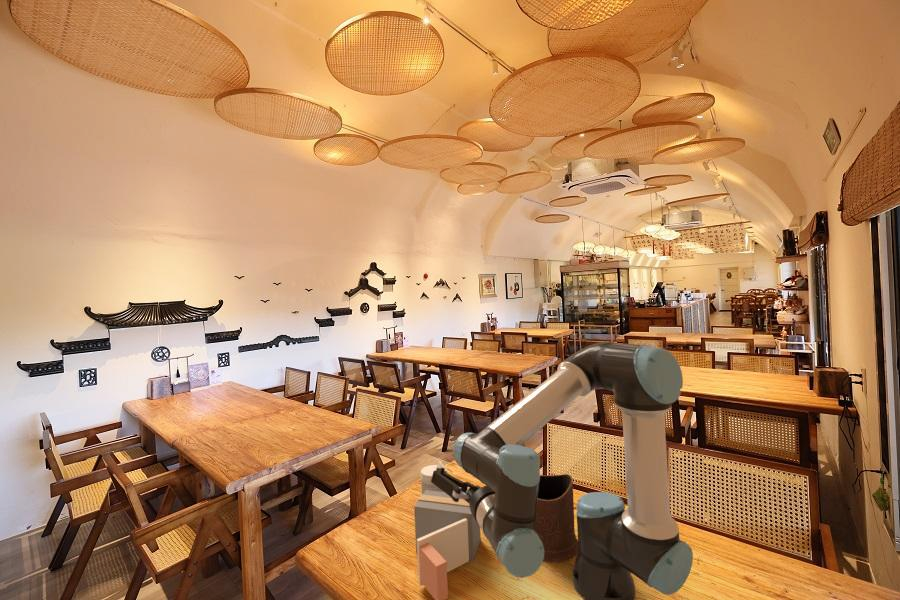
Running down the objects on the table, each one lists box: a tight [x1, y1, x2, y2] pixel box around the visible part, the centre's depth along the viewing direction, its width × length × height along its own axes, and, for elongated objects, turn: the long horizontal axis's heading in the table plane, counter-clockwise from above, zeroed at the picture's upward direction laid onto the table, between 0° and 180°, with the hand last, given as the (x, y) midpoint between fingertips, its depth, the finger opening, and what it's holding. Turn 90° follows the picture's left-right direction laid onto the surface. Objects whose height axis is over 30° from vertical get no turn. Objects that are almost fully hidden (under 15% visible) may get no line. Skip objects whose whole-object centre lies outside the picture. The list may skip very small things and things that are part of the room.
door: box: [416, 518, 470, 600], centre depth 100 cm, size 16×10×12 cm, turn 123°
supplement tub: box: [420, 464, 444, 495], centre depth 136 cm, size 10×10×15 cm
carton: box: [413, 490, 482, 563], centre depth 116 cm, size 18×10×14 cm, turn 73°
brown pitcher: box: [535, 473, 579, 564], centre depth 117 cm, size 18×24×25 cm
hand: (462, 470), depth 97 cm, fingers open, 13 cm apart
